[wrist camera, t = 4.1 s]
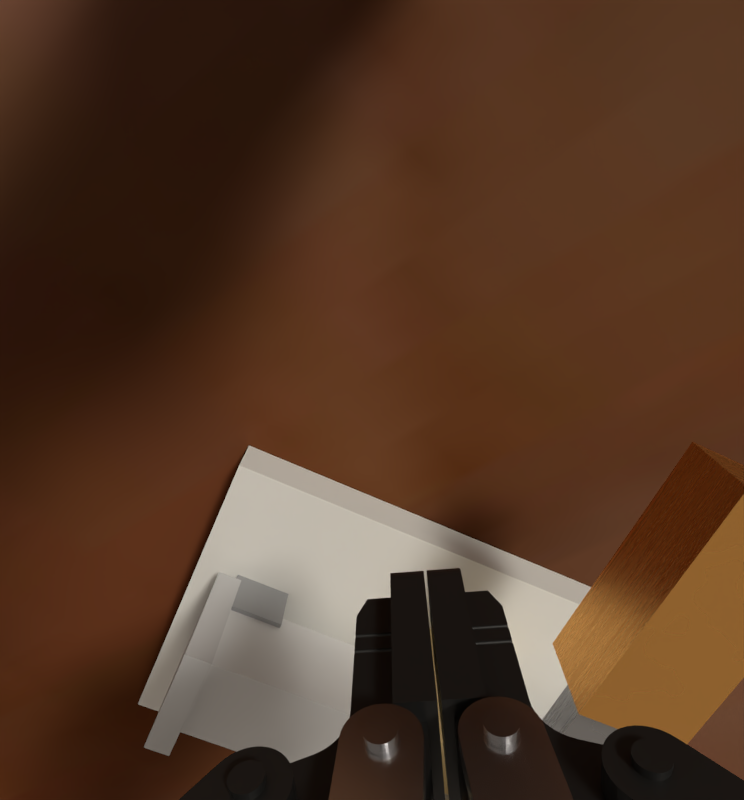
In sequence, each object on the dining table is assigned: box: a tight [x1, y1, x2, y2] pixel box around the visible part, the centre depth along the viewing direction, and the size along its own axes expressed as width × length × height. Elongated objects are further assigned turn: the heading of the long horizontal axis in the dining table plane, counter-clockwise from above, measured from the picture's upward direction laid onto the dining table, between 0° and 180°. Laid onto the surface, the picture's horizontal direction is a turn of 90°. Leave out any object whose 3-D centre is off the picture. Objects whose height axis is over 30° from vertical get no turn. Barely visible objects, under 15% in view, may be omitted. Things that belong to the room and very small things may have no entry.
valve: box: [138, 446, 591, 800], centre depth 26 cm, size 24×14×10 cm, turn 65°
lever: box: [542, 442, 744, 744], centre depth 17 cm, size 3×19×2 cm, turn 156°
